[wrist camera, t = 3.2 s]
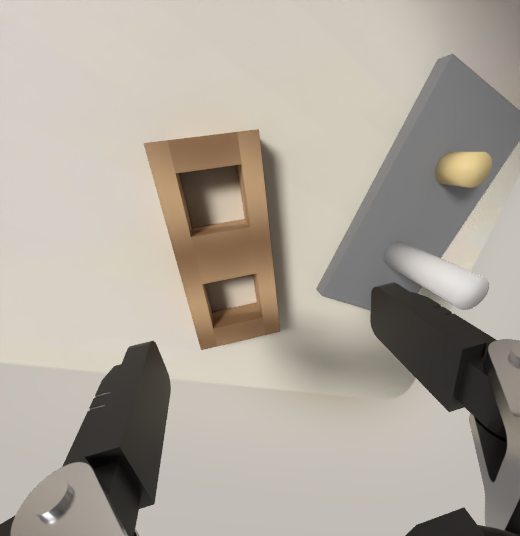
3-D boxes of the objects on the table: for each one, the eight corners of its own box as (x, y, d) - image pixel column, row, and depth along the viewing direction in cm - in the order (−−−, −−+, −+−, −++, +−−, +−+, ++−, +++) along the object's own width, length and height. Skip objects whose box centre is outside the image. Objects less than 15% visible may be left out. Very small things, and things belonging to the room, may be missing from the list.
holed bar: (273, 315, 20) (280, 331, 19) (201, 331, 20) (201, 350, 18) (251, 132, 15) (258, 129, 13) (150, 144, 14) (143, 143, 12)
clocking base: (316, 289, 20) (368, 350, 14) (437, 59, 15) (600, -5, 9) (392, 312, 23) (464, 373, 17) (515, 122, 18) (682, 107, 12)
